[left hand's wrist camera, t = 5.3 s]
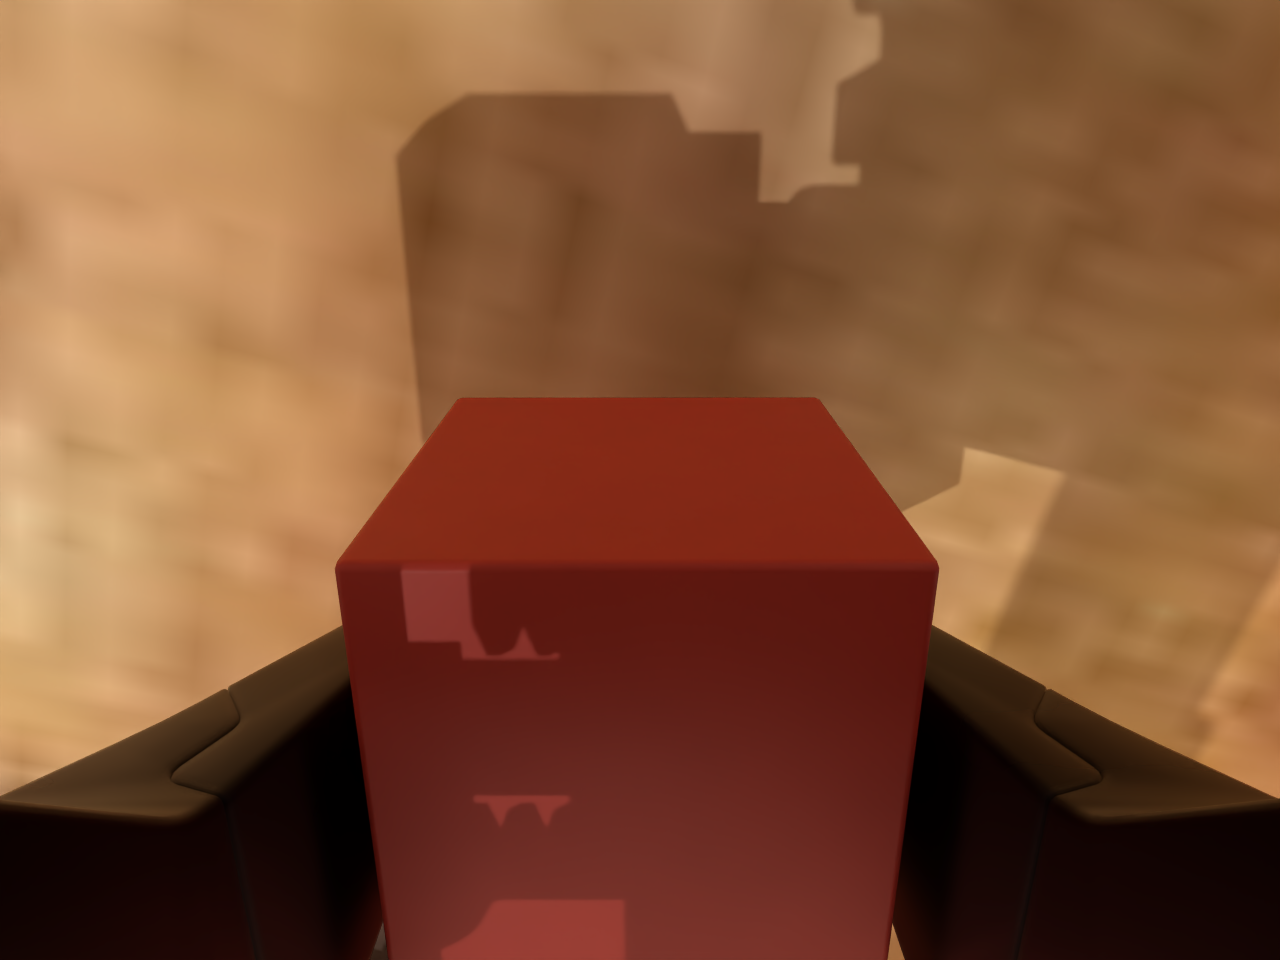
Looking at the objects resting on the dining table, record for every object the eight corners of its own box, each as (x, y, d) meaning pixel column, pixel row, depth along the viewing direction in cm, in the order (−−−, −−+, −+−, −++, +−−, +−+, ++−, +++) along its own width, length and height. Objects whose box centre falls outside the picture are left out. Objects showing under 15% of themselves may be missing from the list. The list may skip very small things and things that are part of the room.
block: (820, 396, 11) (944, 563, 7) (794, 734, 13) (878, 1048, 8) (456, 396, 11) (329, 564, 7) (482, 734, 13) (397, 1049, 8)
